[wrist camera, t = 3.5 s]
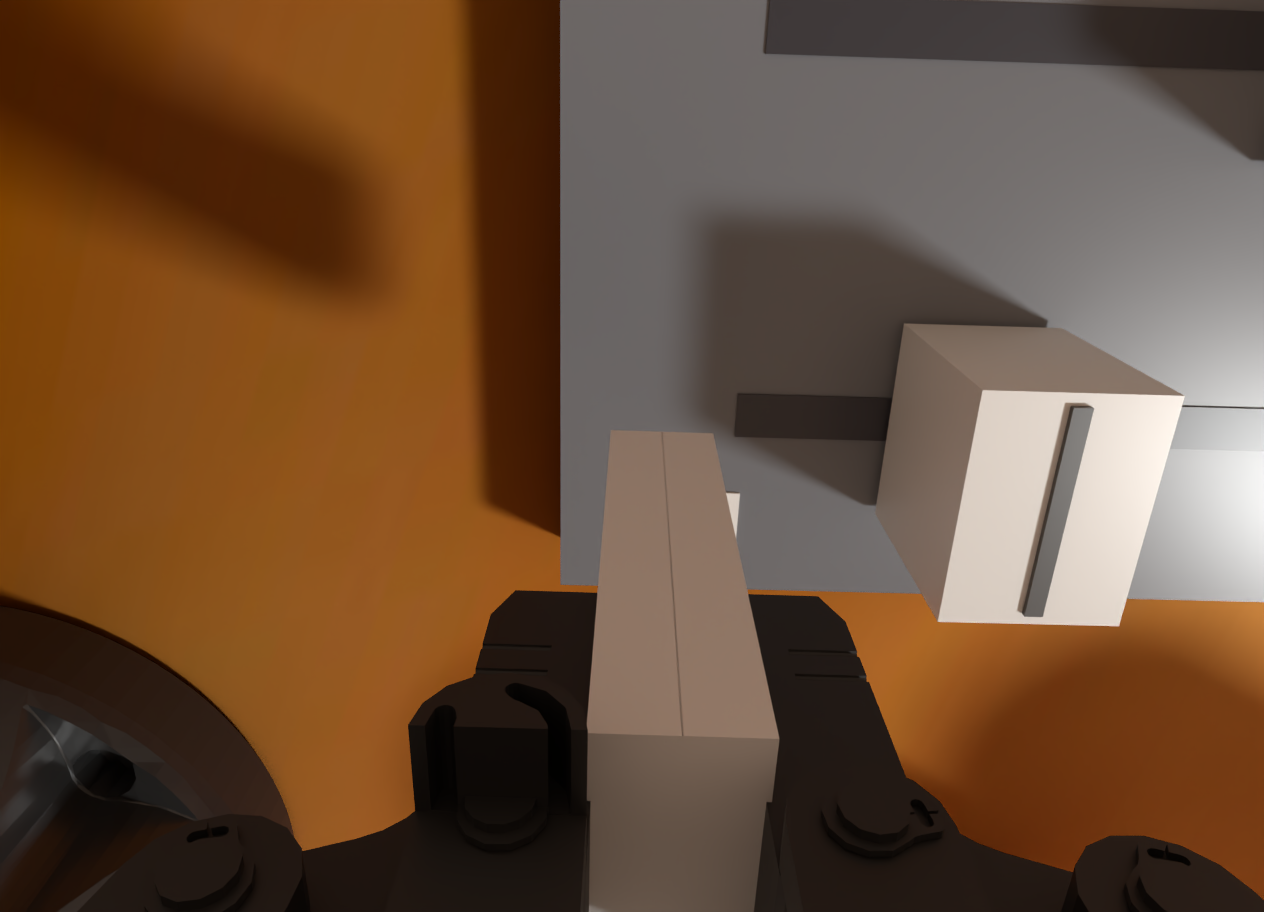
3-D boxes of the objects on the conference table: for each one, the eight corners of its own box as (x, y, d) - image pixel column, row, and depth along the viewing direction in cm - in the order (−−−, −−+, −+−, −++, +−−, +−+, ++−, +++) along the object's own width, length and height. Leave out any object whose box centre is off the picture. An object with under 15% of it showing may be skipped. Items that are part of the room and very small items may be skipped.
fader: (874, 513, 18) (939, 624, 14) (903, 323, 17) (985, 392, 13) (1019, 517, 18) (1122, 629, 14) (1061, 328, 17) (1189, 397, 13)
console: (566, 540, 21) (560, 586, 19) (568, -234, 15) (559, -281, 13) (1644, 568, 21) (1744, 615, 19) (2046, -177, 15) (2246, -214, 14)
